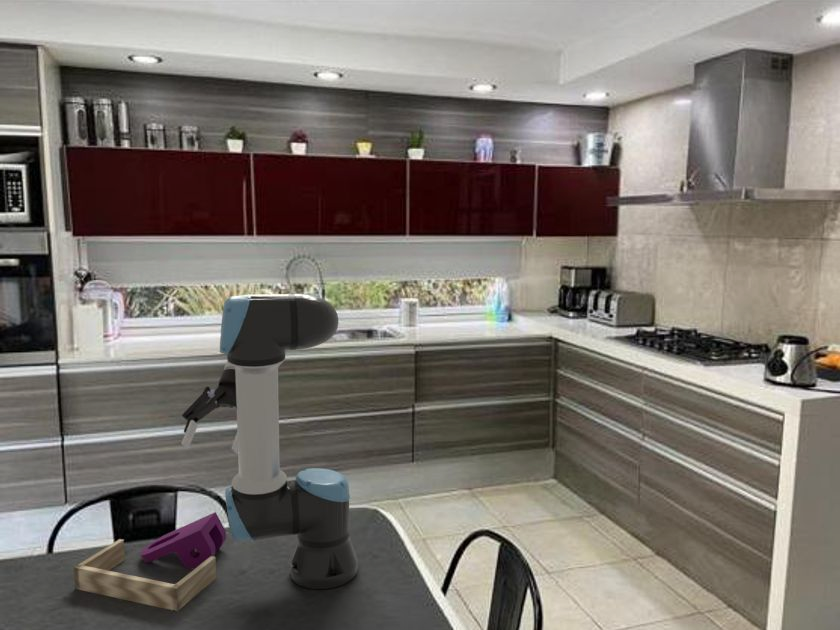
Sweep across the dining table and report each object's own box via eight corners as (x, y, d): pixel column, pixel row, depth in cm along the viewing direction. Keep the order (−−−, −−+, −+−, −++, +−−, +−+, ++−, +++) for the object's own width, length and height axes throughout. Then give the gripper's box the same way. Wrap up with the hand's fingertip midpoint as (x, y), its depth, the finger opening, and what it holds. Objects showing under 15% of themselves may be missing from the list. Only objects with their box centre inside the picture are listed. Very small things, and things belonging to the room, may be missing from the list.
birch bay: (216, 577, 143) (215, 557, 142) (177, 611, 130) (176, 588, 129) (120, 558, 150) (119, 539, 150) (75, 588, 138) (73, 567, 137)
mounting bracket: (150, 591, 148) (217, 561, 146) (133, 560, 147) (200, 530, 145) (168, 569, 157) (231, 541, 155) (152, 540, 156) (215, 511, 154)
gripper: (285, 385, 170) (261, 459, 158) (200, 378, 175) (171, 450, 163) (276, 370, 164) (250, 447, 152) (189, 364, 169) (157, 437, 157)
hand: (209, 448), depth 157 cm, fingers open, 13 cm apart
